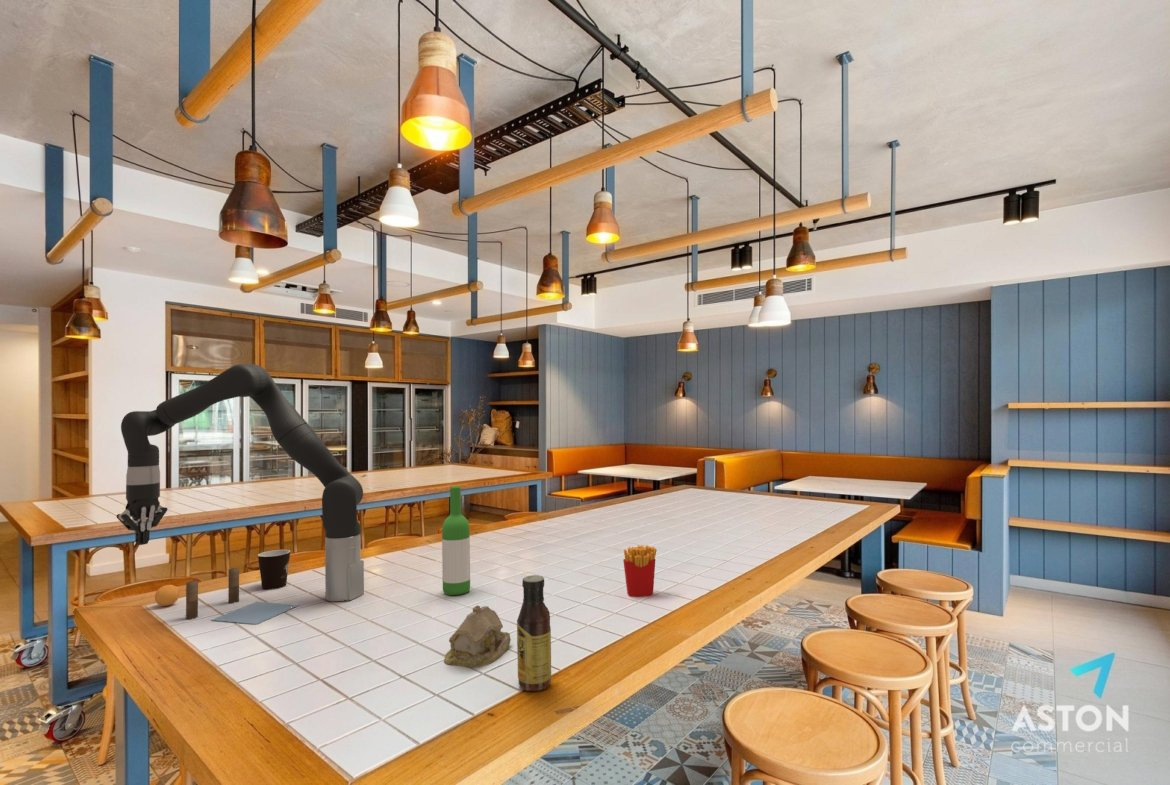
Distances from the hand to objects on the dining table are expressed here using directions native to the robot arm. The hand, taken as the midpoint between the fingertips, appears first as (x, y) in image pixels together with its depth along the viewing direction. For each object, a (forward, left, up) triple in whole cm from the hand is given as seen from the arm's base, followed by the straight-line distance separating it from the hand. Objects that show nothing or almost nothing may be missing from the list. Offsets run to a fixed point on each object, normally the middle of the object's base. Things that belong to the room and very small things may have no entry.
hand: (142, 544), depth 157 cm
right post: (-25, -6, -16) cm, 31 cm away
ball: (-9, 0, -14) cm, 16 cm away
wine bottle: (-83, -26, -17) cm, 89 cm away
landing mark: (-39, 0, -16) cm, 42 cm away
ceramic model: (-107, +11, -17) cm, 109 cm away
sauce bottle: (-124, +22, -17) cm, 127 cm away
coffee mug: (-25, -22, -17) cm, 37 cm away
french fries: (-135, -34, -17) cm, 140 cm away
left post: (-25, +6, -16) cm, 31 cm away
